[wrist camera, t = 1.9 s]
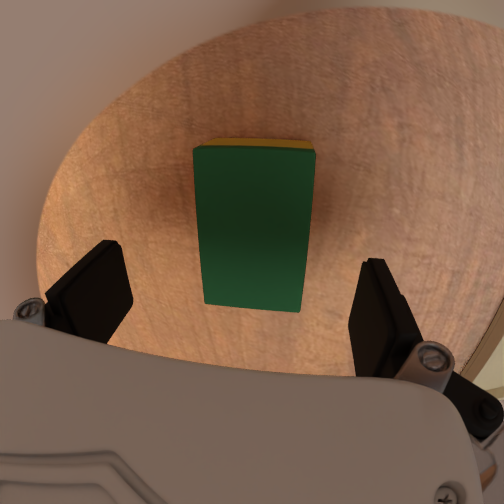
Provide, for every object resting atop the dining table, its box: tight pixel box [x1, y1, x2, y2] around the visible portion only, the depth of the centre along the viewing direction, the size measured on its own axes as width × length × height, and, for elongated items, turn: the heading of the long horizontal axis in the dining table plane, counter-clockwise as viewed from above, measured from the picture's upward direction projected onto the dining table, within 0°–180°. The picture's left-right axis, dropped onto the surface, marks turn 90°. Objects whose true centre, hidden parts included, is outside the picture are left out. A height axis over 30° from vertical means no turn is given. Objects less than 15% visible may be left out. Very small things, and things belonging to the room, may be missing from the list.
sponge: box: [193, 138, 316, 313], centre depth 15 cm, size 8×5×4 cm, turn 0°
